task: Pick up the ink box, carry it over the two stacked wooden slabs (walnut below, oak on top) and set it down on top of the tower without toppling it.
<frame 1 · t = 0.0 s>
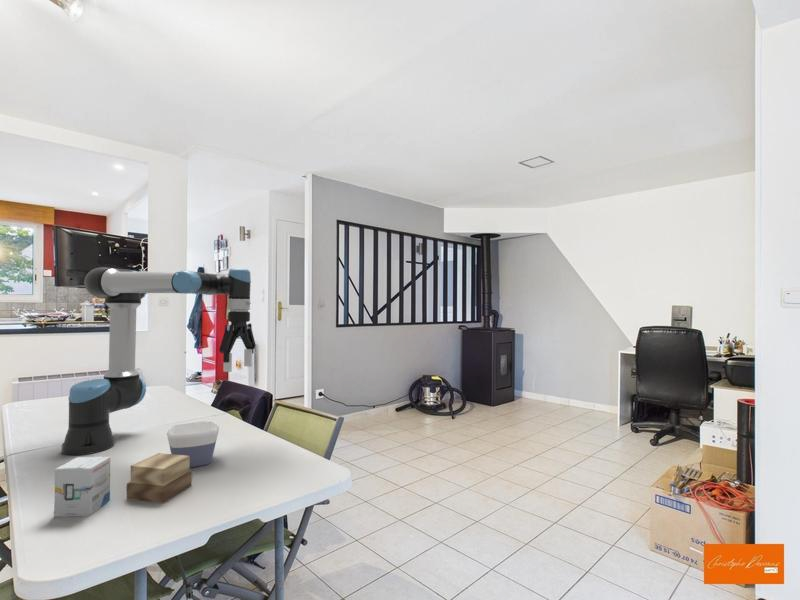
hand: (238, 368, 156), 28 cm above the table, fingers open, 13 cm apart
ink box: (83, 509, 107), on the table
bowl: (192, 462, 139), on the table
tower top: (160, 477, 116), point 4 cm above the table, touching tower base
tower base: (160, 493, 116), on the table, touching tower top
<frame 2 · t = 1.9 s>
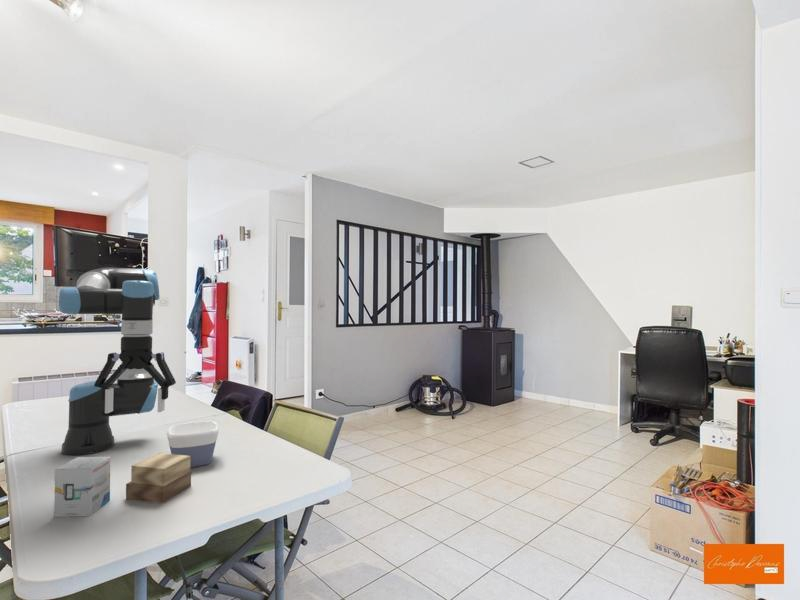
hand: (135, 411, 119), 21 cm above the table, fingers open, 13 cm apart
nothing on the table moved.
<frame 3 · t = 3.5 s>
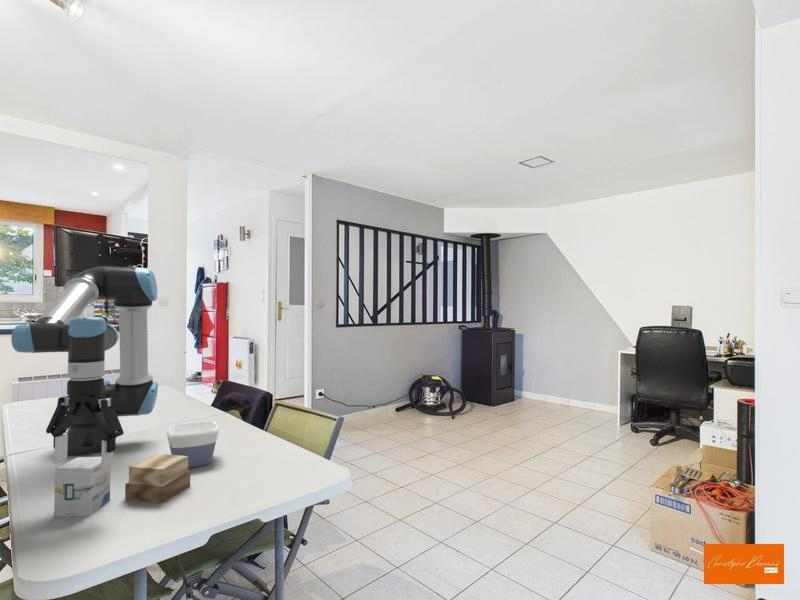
hand: (83, 463, 107), 11 cm above the table, fingers open, 13 cm apart
nothing on the table moved.
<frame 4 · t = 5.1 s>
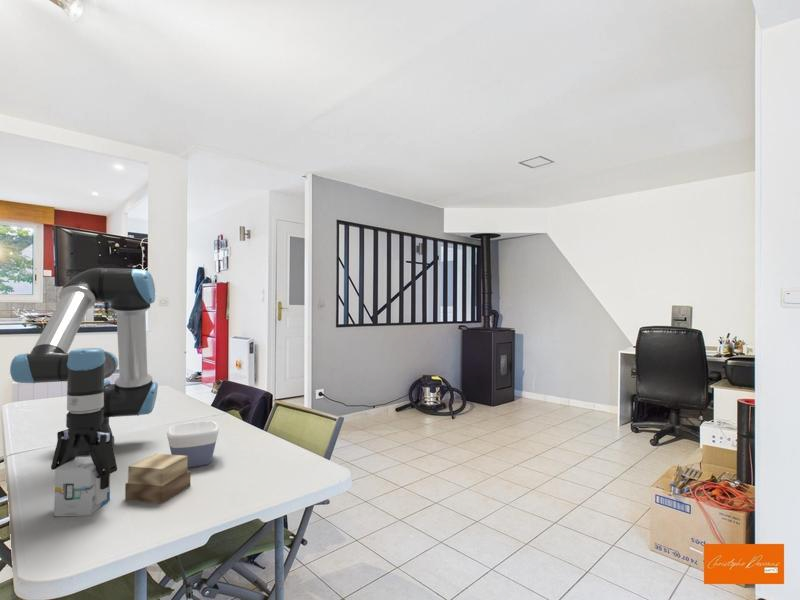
hand: (83, 499, 107), 2 cm above the table, fingers closed on ink box, 9 cm apart
ink box: (82, 509, 107), on the table, touching gripper
everything else where it was.
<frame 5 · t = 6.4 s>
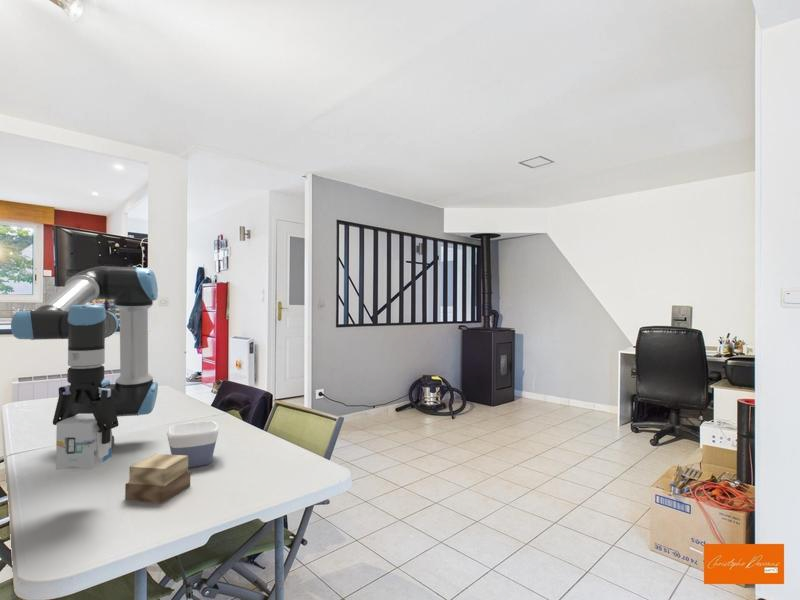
hand: (85, 454, 107), 13 cm above the table, fingers closed on ink box, 9 cm apart
ink box: (84, 463, 107), point 11 cm above the table, touching gripper
everything else where it was.
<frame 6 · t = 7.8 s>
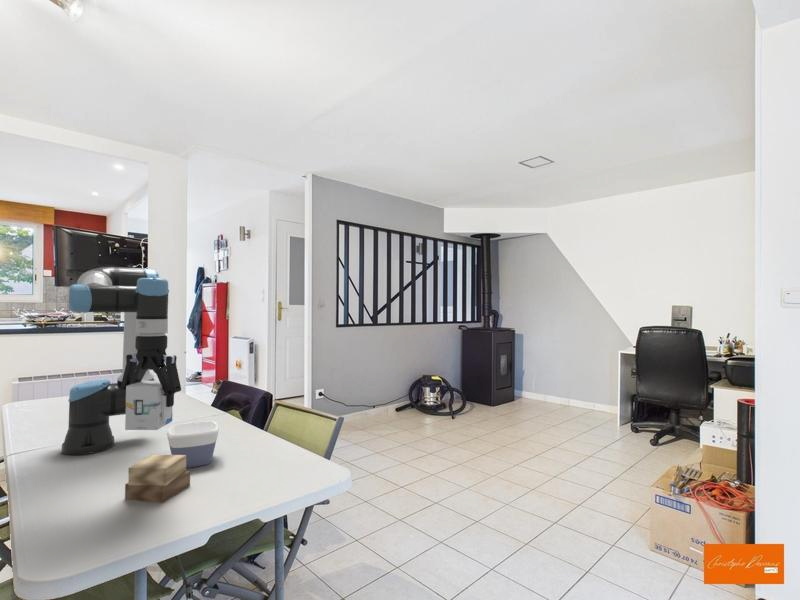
hand: (150, 417, 115), 21 cm above the table, fingers closed on ink box, 9 cm apart
ink box: (149, 426, 115), point 18 cm above the table, touching gripper
everything else where it was.
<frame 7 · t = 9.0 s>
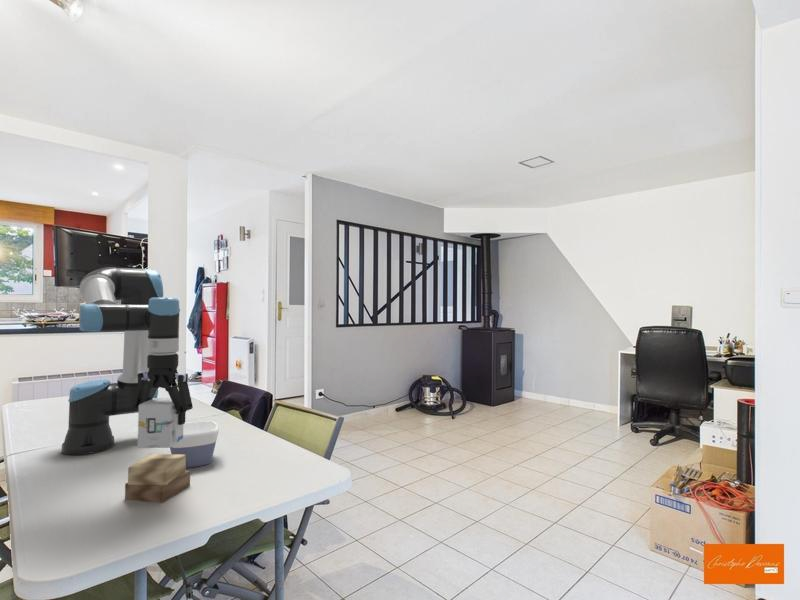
hand: (161, 435, 117), 16 cm above the table, fingers closed on ink box, 9 cm apart
ink box: (161, 443, 116), point 13 cm above the table, touching gripper
everything else where it was.
when the fingers open (13 cm above the table, at t = 10.4 s): ink box drops 2 cm, point 8 cm above the table.
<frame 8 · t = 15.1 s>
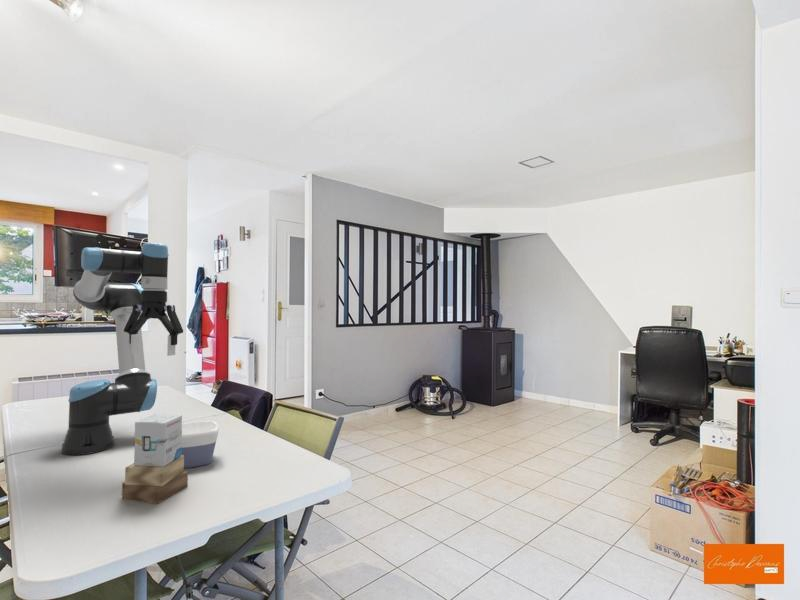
hand: (152, 354, 140), 35 cm above the table, fingers open, 13 cm apart
ink box: (158, 461, 116), point 8 cm above the table
tower top: (155, 477, 116), point 4 cm above the table
tower base: (155, 494, 116), on the table
everything else where it was.
at the end: ink box inside the target area on the tower base (0.5 cm from its centre), point 8.9 cm above the tower base's base; ink box tilted 0°; tower top moved 1.2 cm from its start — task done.
